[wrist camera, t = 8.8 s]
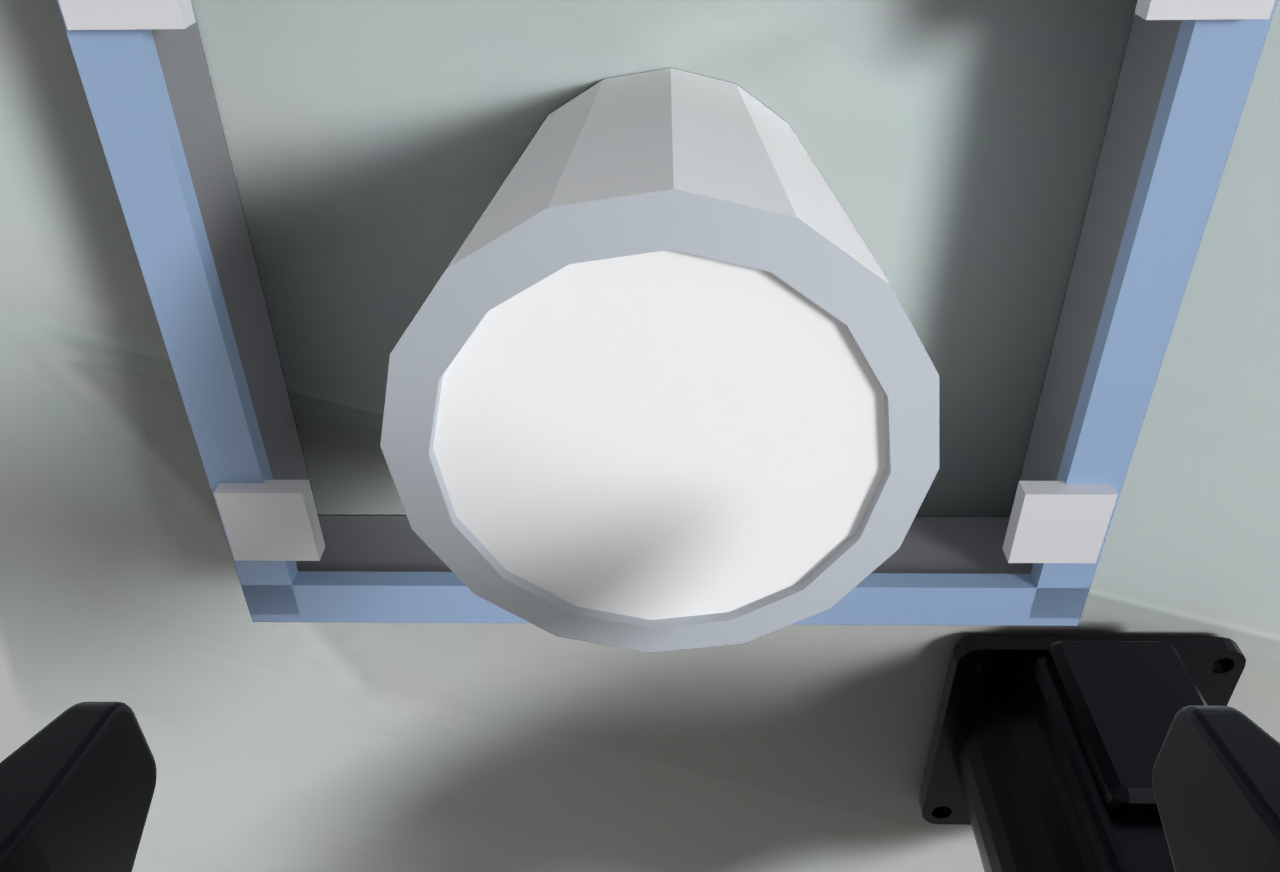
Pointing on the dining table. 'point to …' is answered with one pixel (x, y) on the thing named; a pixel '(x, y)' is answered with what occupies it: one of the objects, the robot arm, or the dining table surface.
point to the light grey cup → (662, 381)
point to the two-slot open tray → (934, 546)
